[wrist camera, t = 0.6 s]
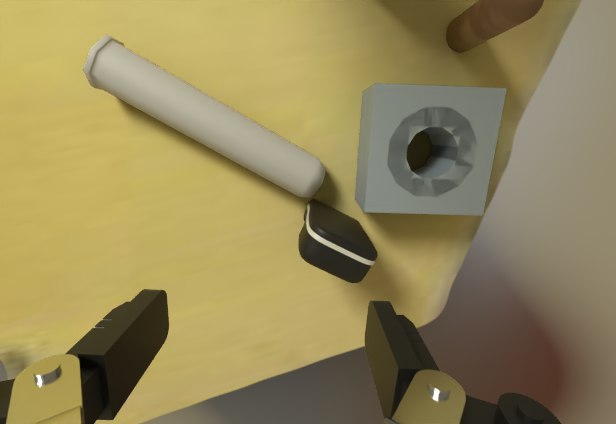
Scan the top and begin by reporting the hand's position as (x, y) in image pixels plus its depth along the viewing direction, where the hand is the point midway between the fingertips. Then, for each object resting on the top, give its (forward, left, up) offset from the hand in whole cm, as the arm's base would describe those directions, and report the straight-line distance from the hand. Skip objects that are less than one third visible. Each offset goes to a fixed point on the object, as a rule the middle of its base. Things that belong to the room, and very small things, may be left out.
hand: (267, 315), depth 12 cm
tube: (-7, -8, -25) cm, 27 cm away
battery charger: (+4, +4, -25) cm, 25 cm away
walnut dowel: (-17, +17, -25) cm, 35 cm away
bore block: (-5, +13, -25) cm, 29 cm away
